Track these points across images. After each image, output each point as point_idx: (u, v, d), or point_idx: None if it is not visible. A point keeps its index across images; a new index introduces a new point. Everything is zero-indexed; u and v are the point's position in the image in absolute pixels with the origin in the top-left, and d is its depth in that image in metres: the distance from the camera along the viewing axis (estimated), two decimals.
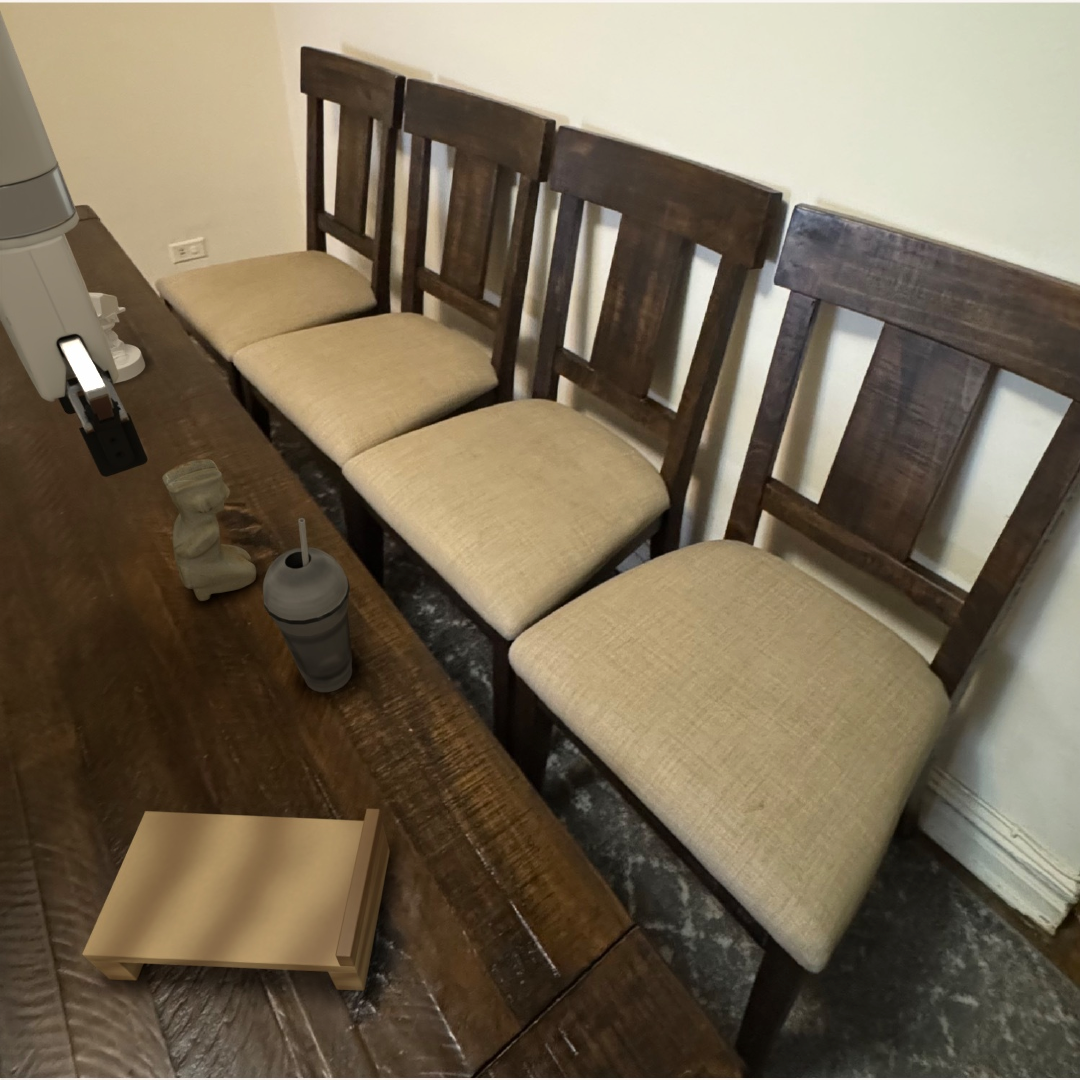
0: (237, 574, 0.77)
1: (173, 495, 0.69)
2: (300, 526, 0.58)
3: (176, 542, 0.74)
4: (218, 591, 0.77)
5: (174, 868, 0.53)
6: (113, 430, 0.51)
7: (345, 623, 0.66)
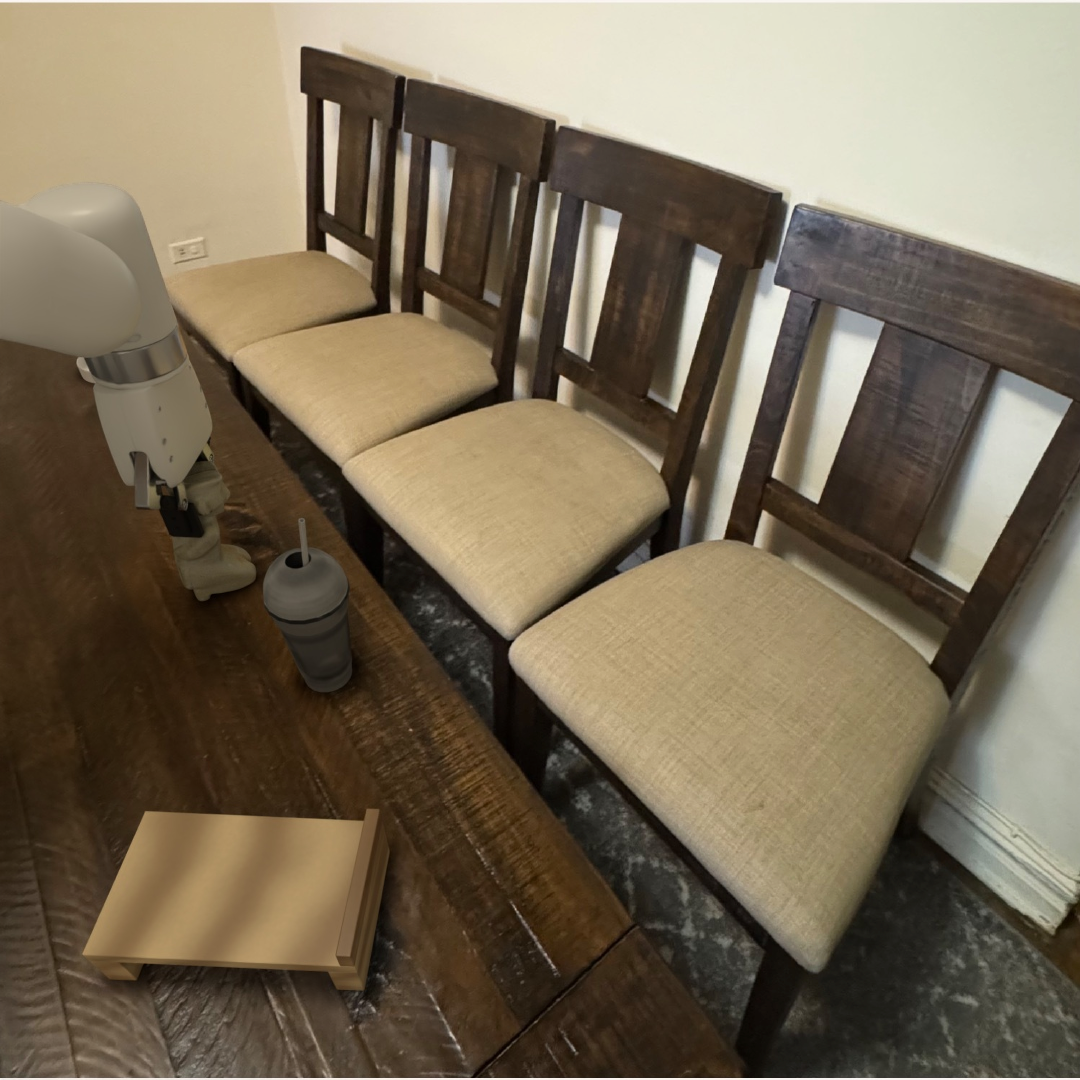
0: (237, 575, 0.77)
1: None
2: (300, 526, 0.58)
3: (176, 543, 0.73)
4: (218, 591, 0.77)
5: (174, 868, 0.53)
6: (174, 512, 0.68)
7: (345, 623, 0.66)
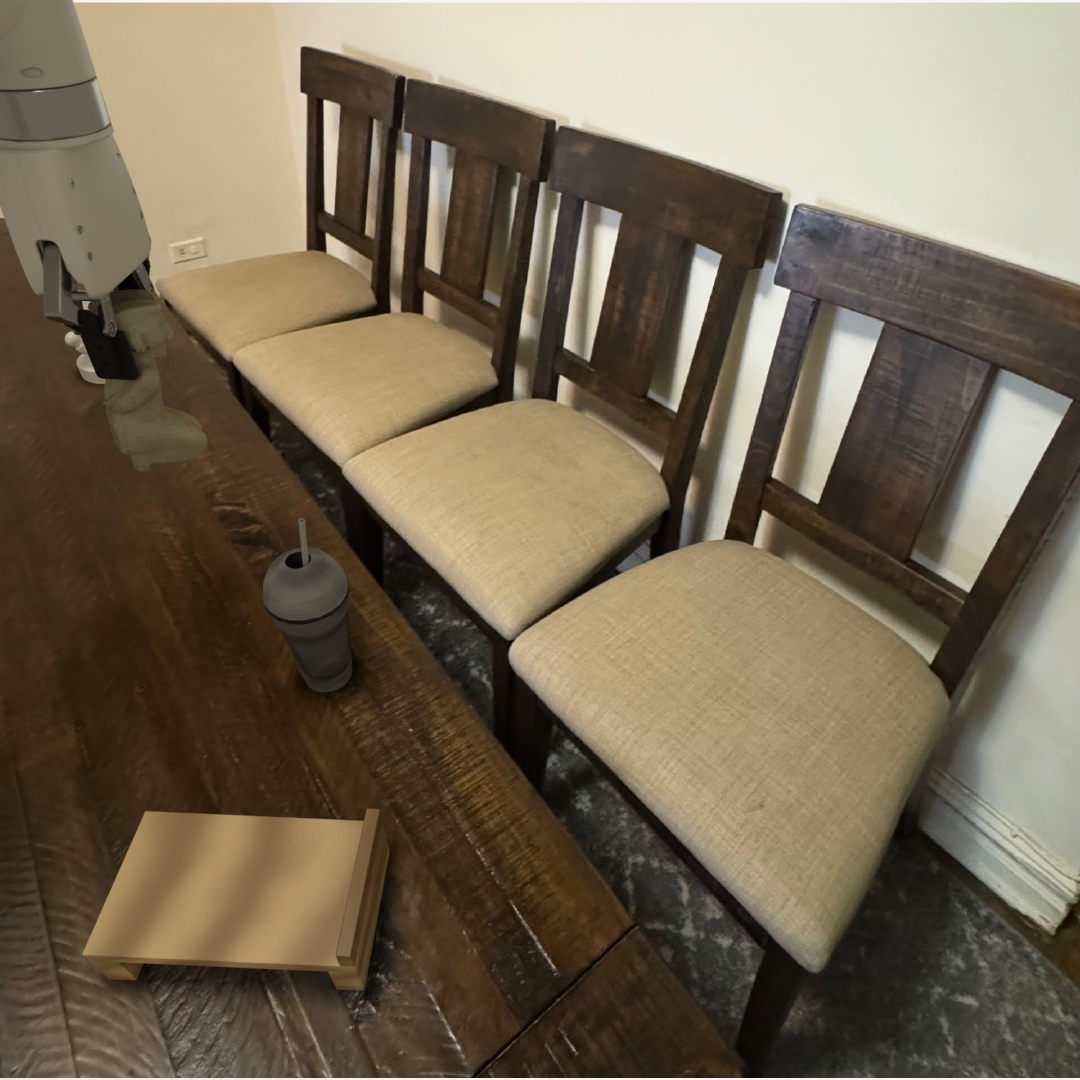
0: (184, 440, 0.65)
1: None
2: (300, 526, 0.58)
3: (107, 393, 0.61)
4: (161, 461, 0.65)
5: (174, 868, 0.53)
6: (99, 340, 0.56)
7: (345, 623, 0.66)
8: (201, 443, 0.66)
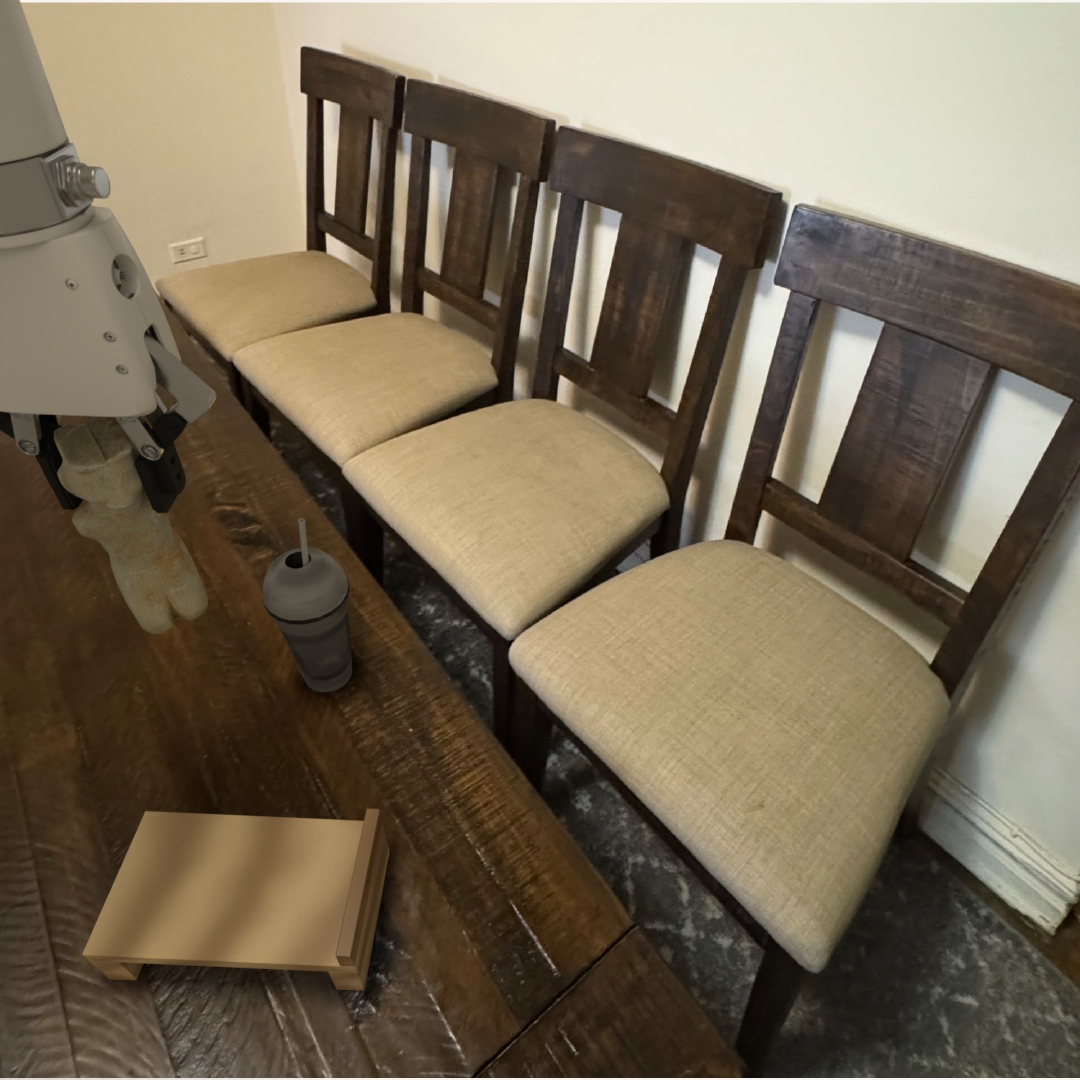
0: (126, 601, 0.49)
1: None
2: (300, 526, 0.58)
3: None
4: None
5: (174, 868, 0.53)
6: None
7: (345, 623, 0.66)
8: (139, 622, 0.49)
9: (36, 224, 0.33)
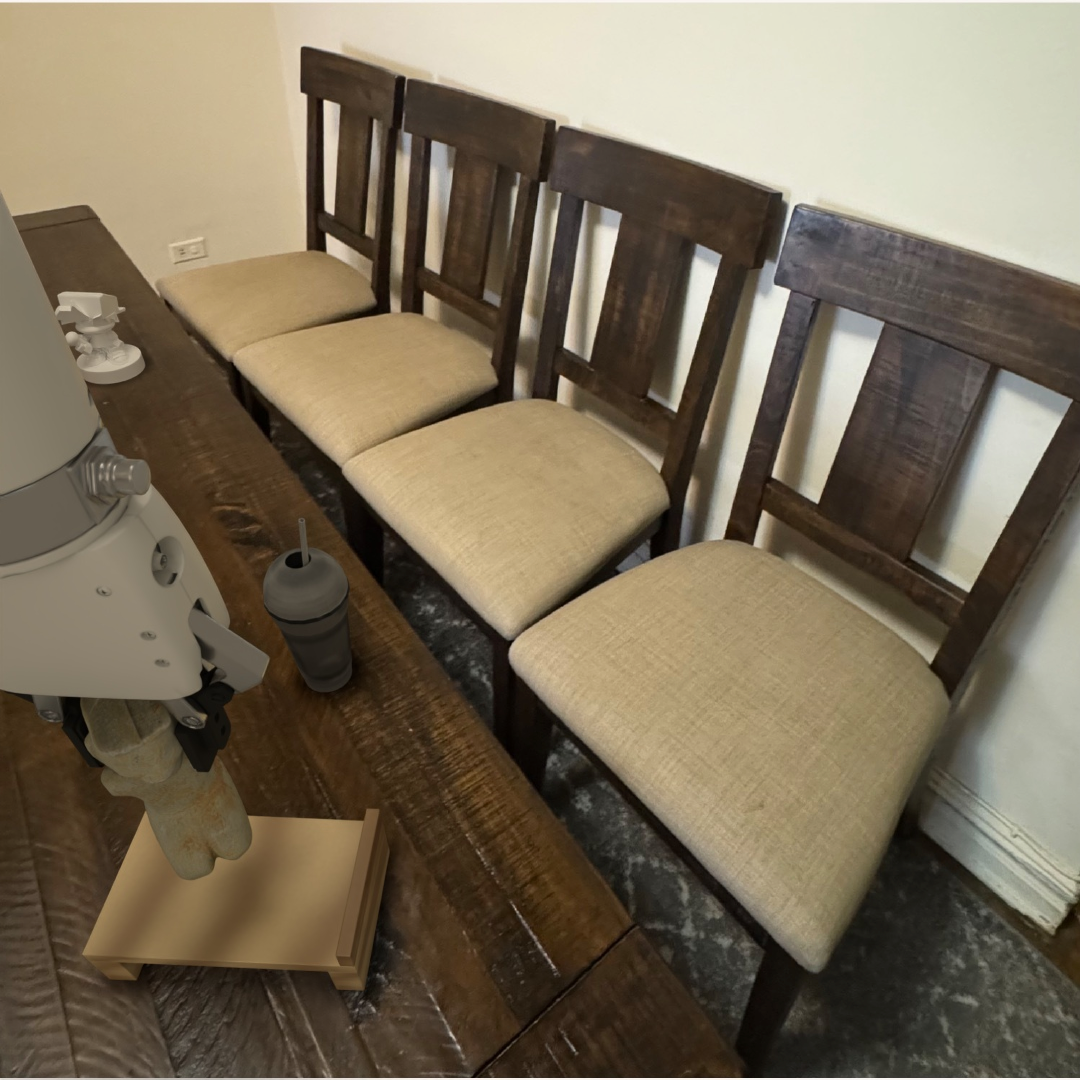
0: None
1: None
2: (300, 526, 0.58)
3: None
4: None
5: None
6: None
7: (345, 623, 0.66)
8: (176, 871, 0.43)
9: (61, 540, 0.26)
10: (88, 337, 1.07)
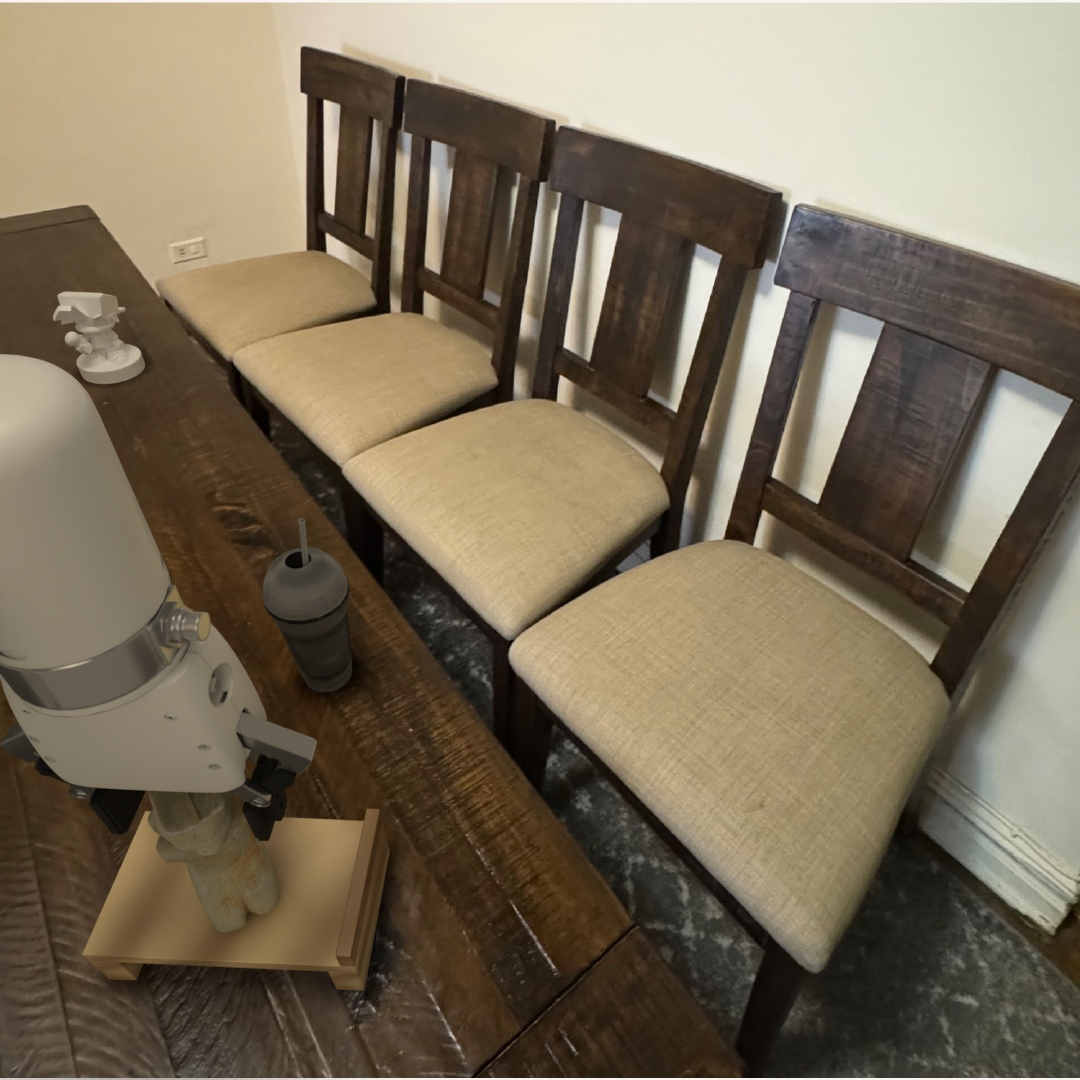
0: None
1: None
2: (300, 526, 0.58)
3: None
4: None
5: (174, 868, 0.53)
6: None
7: (345, 623, 0.66)
8: (214, 926, 0.48)
9: (140, 682, 0.32)
10: (88, 337, 1.07)
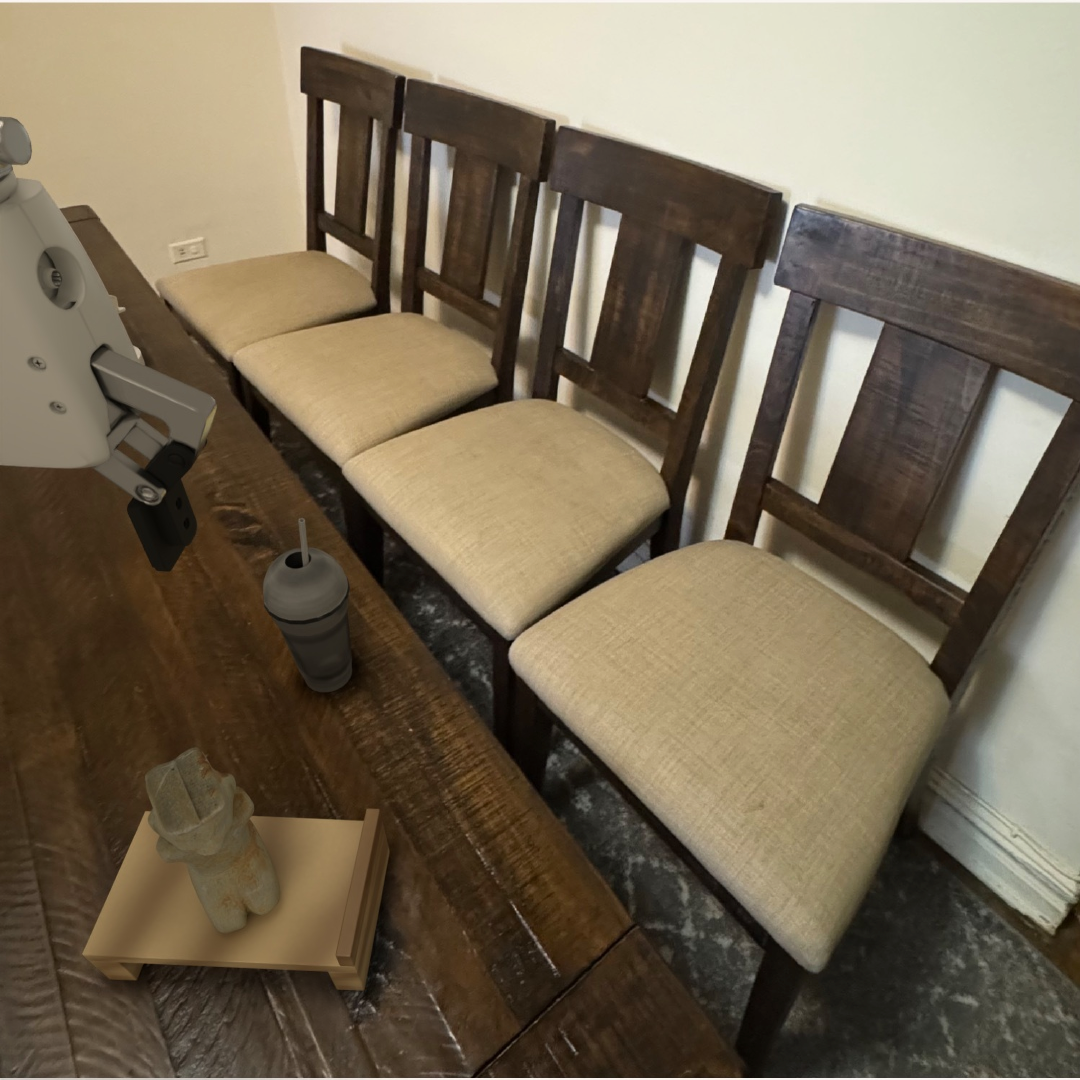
0: None
1: None
2: (300, 526, 0.58)
3: None
4: None
5: (174, 868, 0.53)
6: None
7: (345, 623, 0.66)
8: (214, 926, 0.48)
9: None
10: None
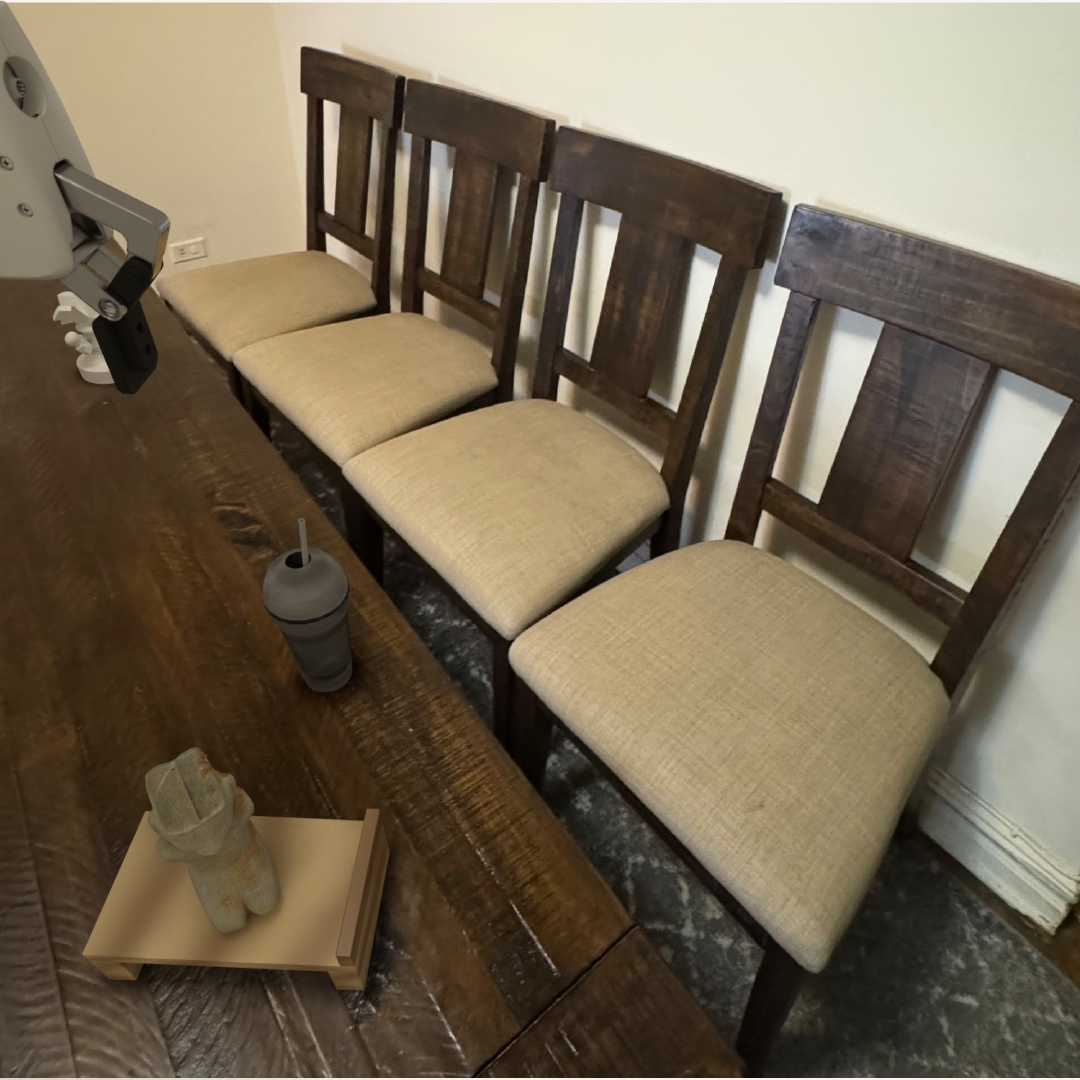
0: None
1: None
2: (300, 526, 0.58)
3: None
4: None
5: (174, 868, 0.53)
6: None
7: (345, 623, 0.66)
8: (214, 926, 0.48)
9: None
10: (88, 337, 1.07)
